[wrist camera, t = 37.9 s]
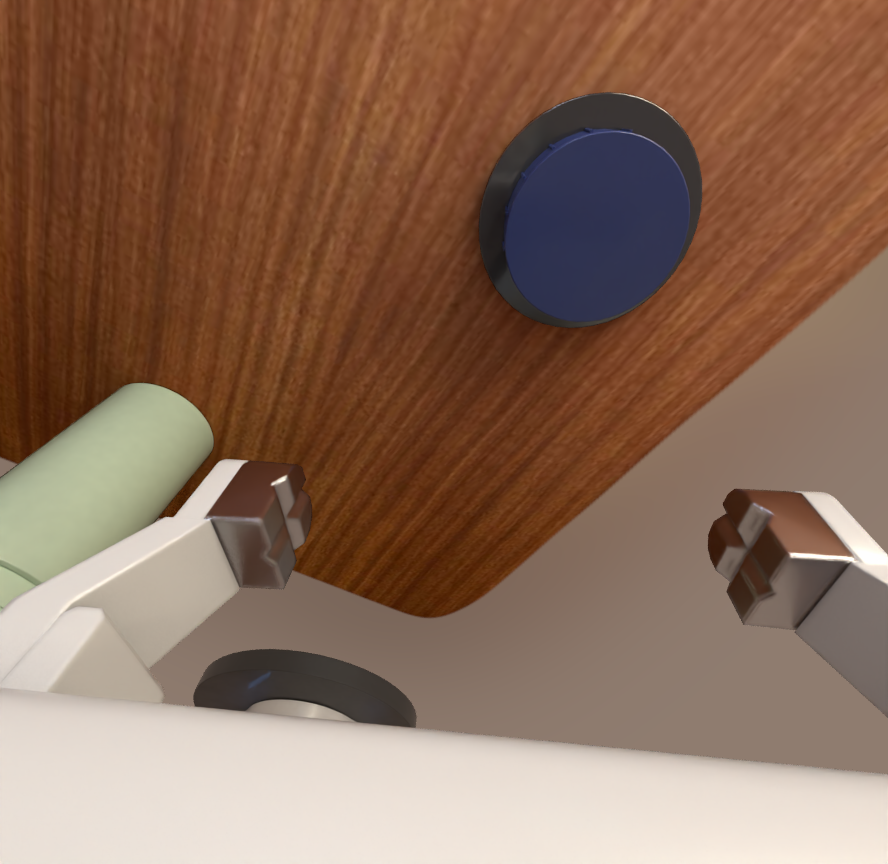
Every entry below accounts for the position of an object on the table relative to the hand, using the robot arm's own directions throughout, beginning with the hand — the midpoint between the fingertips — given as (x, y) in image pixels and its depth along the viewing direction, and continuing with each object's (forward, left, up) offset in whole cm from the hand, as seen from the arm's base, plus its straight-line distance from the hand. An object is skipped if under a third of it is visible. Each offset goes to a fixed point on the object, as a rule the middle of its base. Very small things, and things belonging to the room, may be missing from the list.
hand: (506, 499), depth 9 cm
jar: (-10, +20, -15) cm, 27 cm away
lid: (+2, -4, -13) cm, 13 cm away
